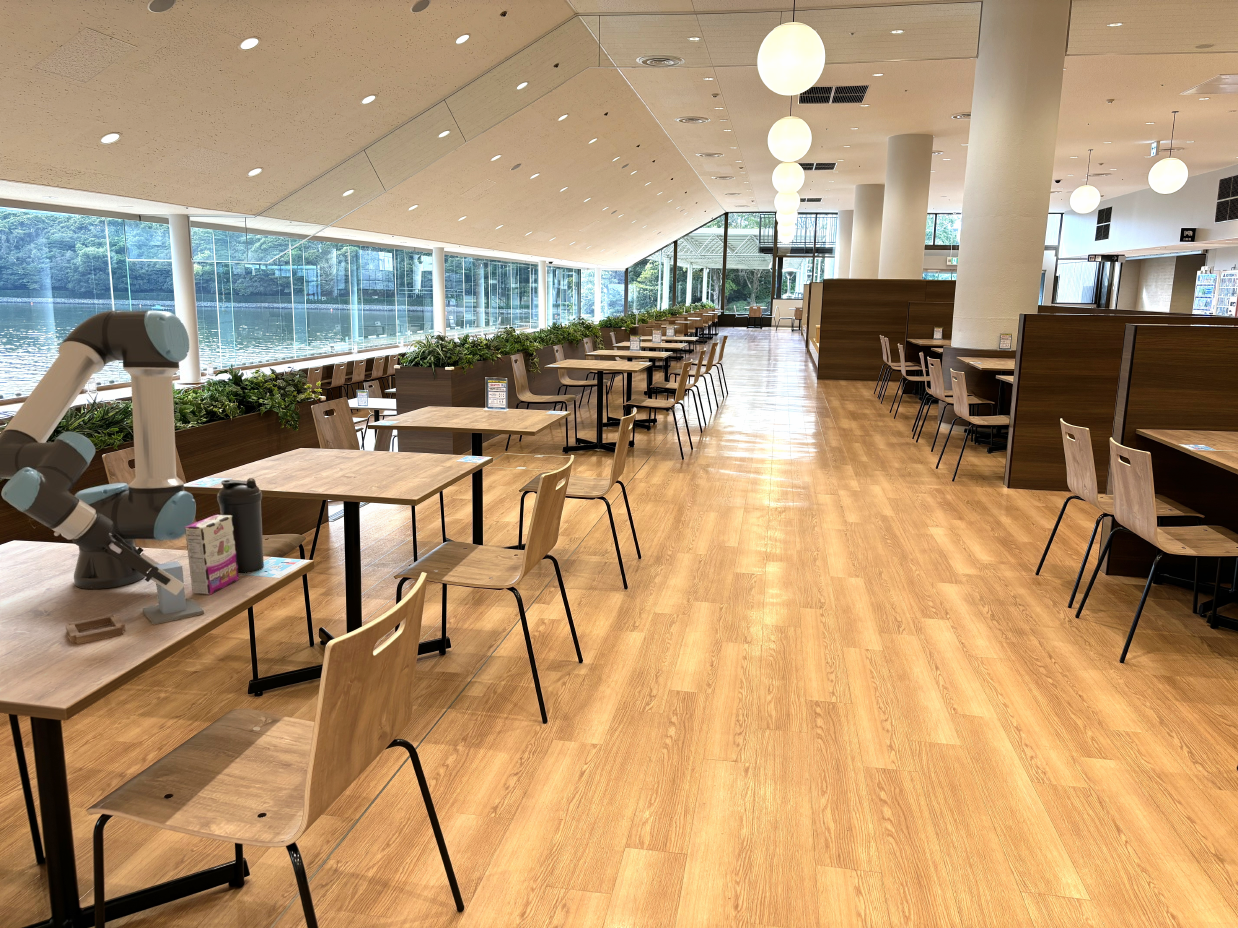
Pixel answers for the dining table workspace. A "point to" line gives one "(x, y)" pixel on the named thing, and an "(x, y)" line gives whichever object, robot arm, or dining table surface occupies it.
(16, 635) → the dining table surface
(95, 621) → the walnut pocket frame
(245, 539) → the water bottle
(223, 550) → the candy bar box
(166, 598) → the dusty blue painted block
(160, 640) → the dining table surface
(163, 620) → the grey rubber mat
